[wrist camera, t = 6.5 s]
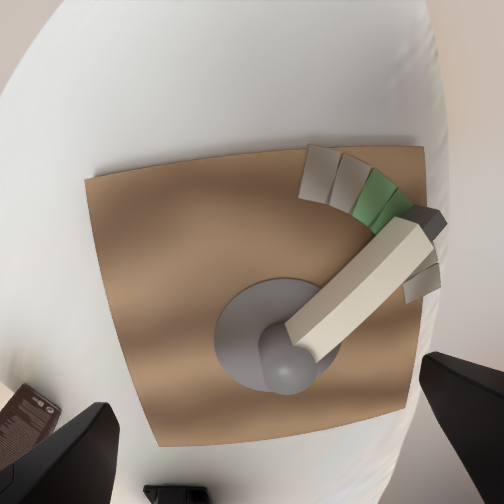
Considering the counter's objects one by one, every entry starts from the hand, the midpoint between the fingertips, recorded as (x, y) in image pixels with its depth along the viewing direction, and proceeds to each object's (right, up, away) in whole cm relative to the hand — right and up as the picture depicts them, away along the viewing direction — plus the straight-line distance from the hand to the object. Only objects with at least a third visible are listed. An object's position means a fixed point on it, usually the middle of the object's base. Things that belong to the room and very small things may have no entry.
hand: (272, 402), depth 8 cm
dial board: (+1, 0, +12) cm, 12 cm away
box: (-20, -10, +13) cm, 26 cm away
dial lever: (+5, +2, +10) cm, 12 cm away
